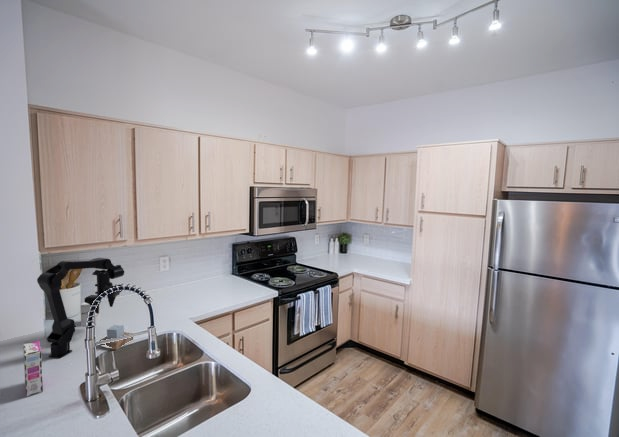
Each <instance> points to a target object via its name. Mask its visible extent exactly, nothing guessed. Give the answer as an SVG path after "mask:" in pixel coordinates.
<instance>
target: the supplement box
mask: <svg viewBox="0 0 619 437" xmlns="http://www.w3.org/2000/svg"><path fill="white" fill-rule="evenodd" d="M90 307H91V305H90V304H88V303H85V301H84V302H82V303H80V324H81V325H80V326H81V327H84V326H85V327H86V322H87V316H88V312H89V310H90ZM100 321H101V303H100V304H99V313H98V314H97V313H96V312H95V315H94V323H95V325H94V326H96V325H97V324H98V323H99V322H100Z"/></svg>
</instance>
